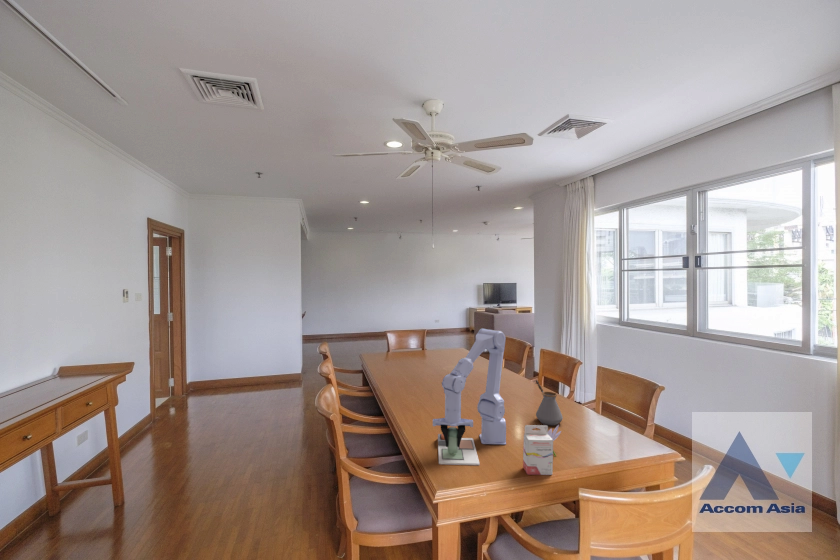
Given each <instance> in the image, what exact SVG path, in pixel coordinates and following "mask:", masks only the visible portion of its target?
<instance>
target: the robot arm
mask: <svg viewBox="0 0 840 560" xmlns="http://www.w3.org/2000/svg"><path fill="white" fill-rule="evenodd" d="M506 340H507V339H506V335H505V333H504V332H503V331H502V330H493V329H489V328H488V329H486V328H483V327H482V328H480V329H479V330H478V332H477V333H476V334H475V341H474V343H473V344H472V346H471V348H470V349H469V350H468V353H467V355H466V356H465V357H463V358H460V359H459V360H458V362H457V363H456V365H455V366H454V368H452V370H451V372H450V373H448V374H446V375H445V376H444V377H443V379H442V382H441V386H442V388H443V393H444V417H443V418H441V417H440V418H432V427H436V426H440V431H441V434H442V433H443V435H444V438H445V442H446V447H448V428H449V427H455V428H456V427H457V429H458V447H460V442H461V439H462V438H463V436H464V434H465V432H466V427H470V428H474V420H473V419H467V418H461V416H462V392H463V390H464V389H465V386H466V382H467V378H468V377H469V375H470V374H471V372H472V371H473V370H474V363H475V362H476V360H477V359H478V358H479V356H480V355H482V353H483V352H484V351H485V350H487V351H488V352H489V359H488V365H487V366H488V367H487V375H486V376H487V377H486V383H485V384H486V385H485V390H484V391H485V392H483V393H482V394H480V395H479V400H478V403H477V405H476V408H477V412H478V413H479V414H480V415H479V417H481V433H480V434H479V435H478V436H479V439H480V442H481V444H482V445H507V423H506V422H507V421H506V419H505V418H504V415H505V412H506V411H505V410H506V409H505V400H504V398H503V397H502V396H501V394H500V390H501V389H500V388H501V379H502V370H503V362H504V361H503V359H504V352H505V348H506V347H505V346H506Z"/></svg>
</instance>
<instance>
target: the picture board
mask: <svg viewBox="0 0 840 560" xmlns="http://www.w3.org/2000/svg"><path fill="white" fill-rule="evenodd" d="M441 434H442V433H438V434H437V450H438V465H455V466H456V465H459V466H481V465H480V460H479V456H478V453H477V448H476V446H475V445H476V444H475V440H474V437H473V438H472V437H462V439H461V442H460V447H458V452H457V453H455V454H451V453H448V447H446V442H445V440H441Z"/></svg>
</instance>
